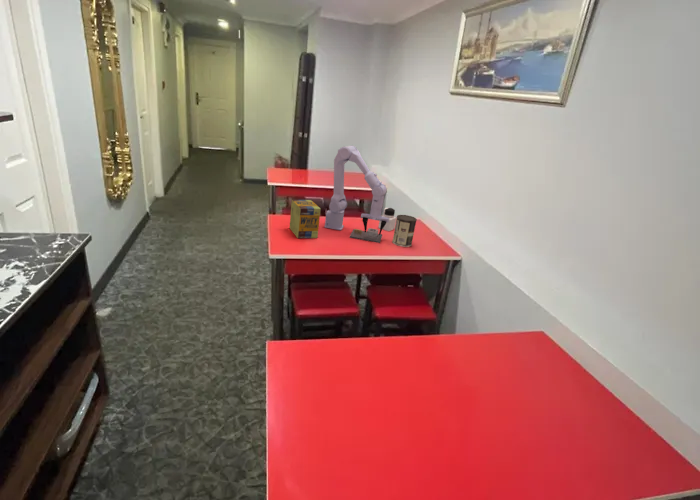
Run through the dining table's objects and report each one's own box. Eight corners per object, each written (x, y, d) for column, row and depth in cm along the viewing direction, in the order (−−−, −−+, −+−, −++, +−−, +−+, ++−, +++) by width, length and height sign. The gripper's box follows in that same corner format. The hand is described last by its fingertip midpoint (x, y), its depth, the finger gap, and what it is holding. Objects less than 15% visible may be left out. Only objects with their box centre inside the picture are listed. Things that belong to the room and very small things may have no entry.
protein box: (297, 238, 186) (300, 208, 180) (289, 228, 199) (291, 199, 193) (317, 238, 191) (321, 208, 185) (308, 227, 203) (311, 199, 198)
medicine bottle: (394, 229, 221) (398, 209, 216) (388, 231, 215) (392, 211, 211) (383, 225, 224) (387, 206, 220) (377, 228, 218) (381, 208, 214)
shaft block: (349, 237, 198) (350, 231, 196) (353, 230, 209) (354, 224, 207) (379, 243, 196) (381, 236, 194) (382, 235, 207) (383, 229, 205)
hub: (366, 237, 199) (367, 230, 198) (367, 234, 204) (368, 227, 203) (376, 238, 198) (377, 232, 197) (377, 235, 203) (378, 229, 202)
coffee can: (408, 240, 206) (413, 215, 200) (414, 247, 196) (419, 221, 191) (389, 239, 204) (394, 213, 198) (395, 246, 194) (400, 220, 189)
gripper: (361, 207, 193) (357, 232, 198) (389, 212, 191) (385, 237, 196) (363, 204, 199) (359, 228, 204) (391, 209, 198) (386, 233, 203)
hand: (372, 232), depth 201 cm, fingers open, 7 cm apart
